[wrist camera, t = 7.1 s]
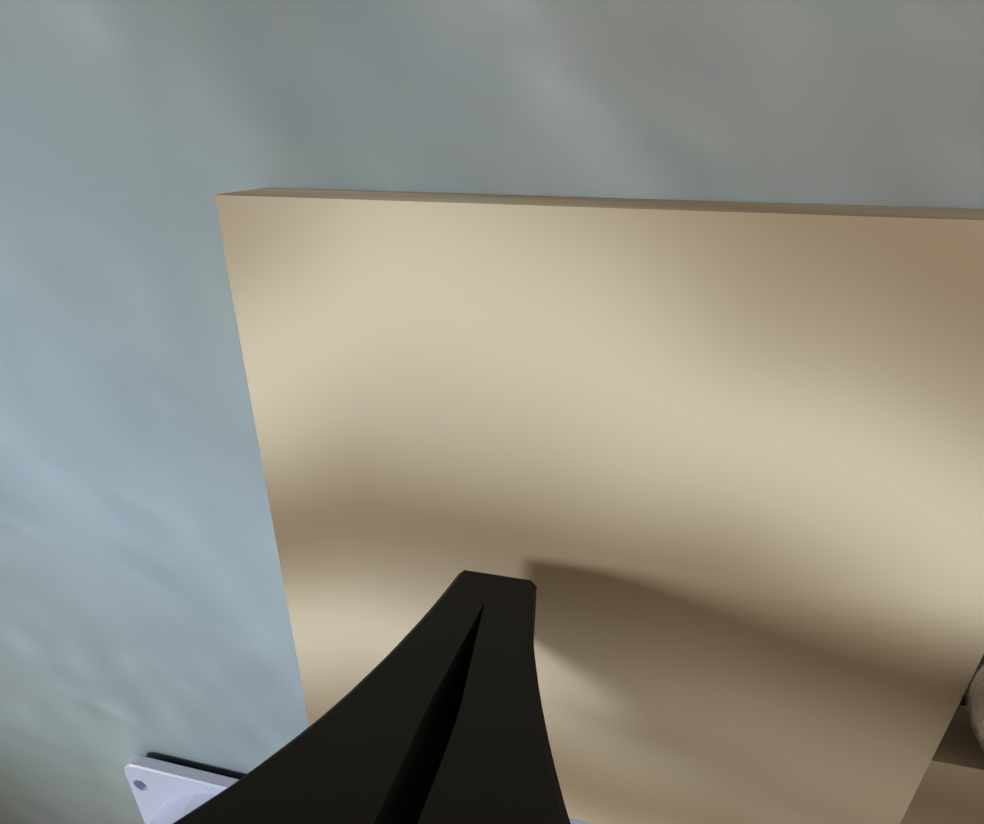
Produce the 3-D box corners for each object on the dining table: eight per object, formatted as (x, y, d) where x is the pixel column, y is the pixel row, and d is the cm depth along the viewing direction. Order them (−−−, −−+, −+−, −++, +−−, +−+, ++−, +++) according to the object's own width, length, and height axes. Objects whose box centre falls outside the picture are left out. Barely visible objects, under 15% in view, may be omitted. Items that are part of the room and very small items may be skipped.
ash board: (1291, 910, 13) (1368, 1001, 11) (340, 711, 17) (315, 759, 16) (2005, 239, 7) (2341, 266, 5) (265, 188, 11) (214, 194, 10)
